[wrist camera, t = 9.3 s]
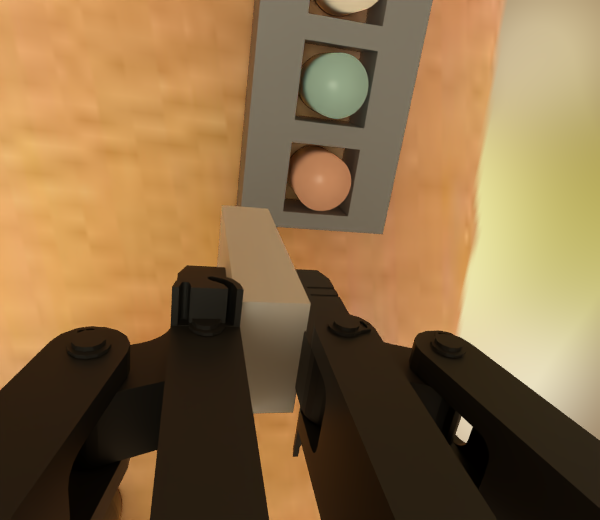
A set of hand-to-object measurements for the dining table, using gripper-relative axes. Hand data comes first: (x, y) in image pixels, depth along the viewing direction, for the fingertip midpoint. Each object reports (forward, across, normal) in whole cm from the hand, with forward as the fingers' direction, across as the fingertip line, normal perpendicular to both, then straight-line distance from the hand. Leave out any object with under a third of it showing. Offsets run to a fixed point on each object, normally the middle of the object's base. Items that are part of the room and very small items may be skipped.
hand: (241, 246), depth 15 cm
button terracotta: (+24, +8, -2) cm, 25 cm away
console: (+24, +8, +5) cm, 26 cm away
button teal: (+24, +8, +5) cm, 25 cm away
